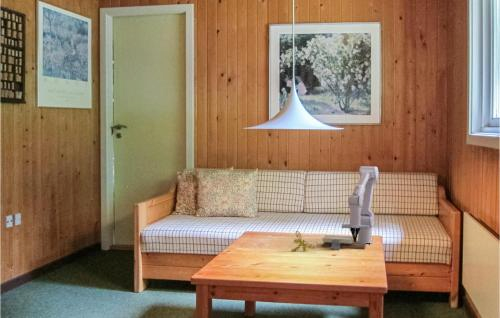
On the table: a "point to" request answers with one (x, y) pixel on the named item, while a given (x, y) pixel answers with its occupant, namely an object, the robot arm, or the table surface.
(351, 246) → the track board
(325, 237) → the shallow rimmed tray
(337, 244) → the block
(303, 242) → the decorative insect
